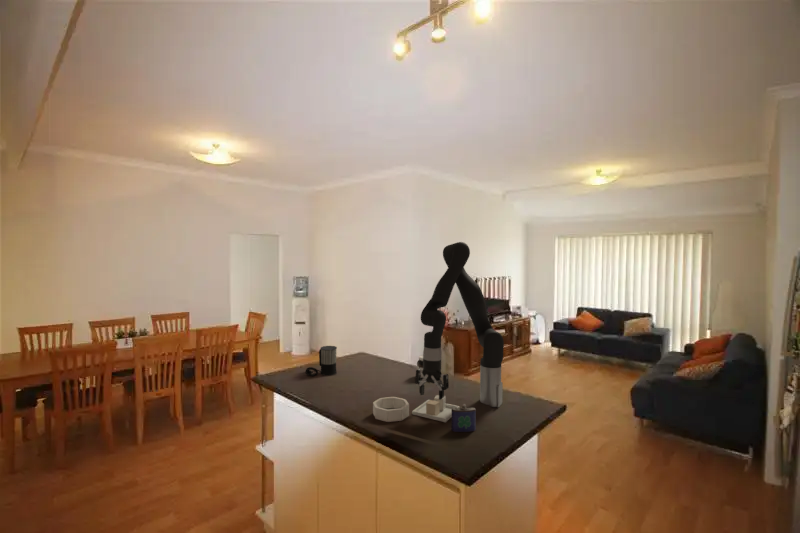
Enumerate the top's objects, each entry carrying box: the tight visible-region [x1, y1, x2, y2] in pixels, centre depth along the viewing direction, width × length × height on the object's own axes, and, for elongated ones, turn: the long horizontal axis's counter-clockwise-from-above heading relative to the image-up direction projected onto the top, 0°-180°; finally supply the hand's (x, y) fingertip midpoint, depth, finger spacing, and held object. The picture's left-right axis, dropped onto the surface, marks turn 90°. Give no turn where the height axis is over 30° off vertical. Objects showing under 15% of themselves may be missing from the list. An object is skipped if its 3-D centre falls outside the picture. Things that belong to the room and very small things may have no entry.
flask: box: [451, 403, 477, 433], centre depth 139 cm, size 9×3×11 cm, turn 95°
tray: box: [411, 399, 461, 423], centre depth 156 cm, size 15×15×2 cm
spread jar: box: [416, 354, 424, 380], centre depth 204 cm, size 12×11×12 cm
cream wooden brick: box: [426, 399, 439, 416], centre depth 153 cm, size 4×4×5 cm
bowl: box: [372, 396, 410, 423], centre depth 154 cm, size 14×14×5 cm
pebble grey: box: [433, 394, 447, 411], centre depth 159 cm, size 4×4×5 cm
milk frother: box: [305, 345, 338, 377], centre depth 210 cm, size 14×16×15 cm
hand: (431, 396), depth 154 cm, fingers open, 8 cm apart
